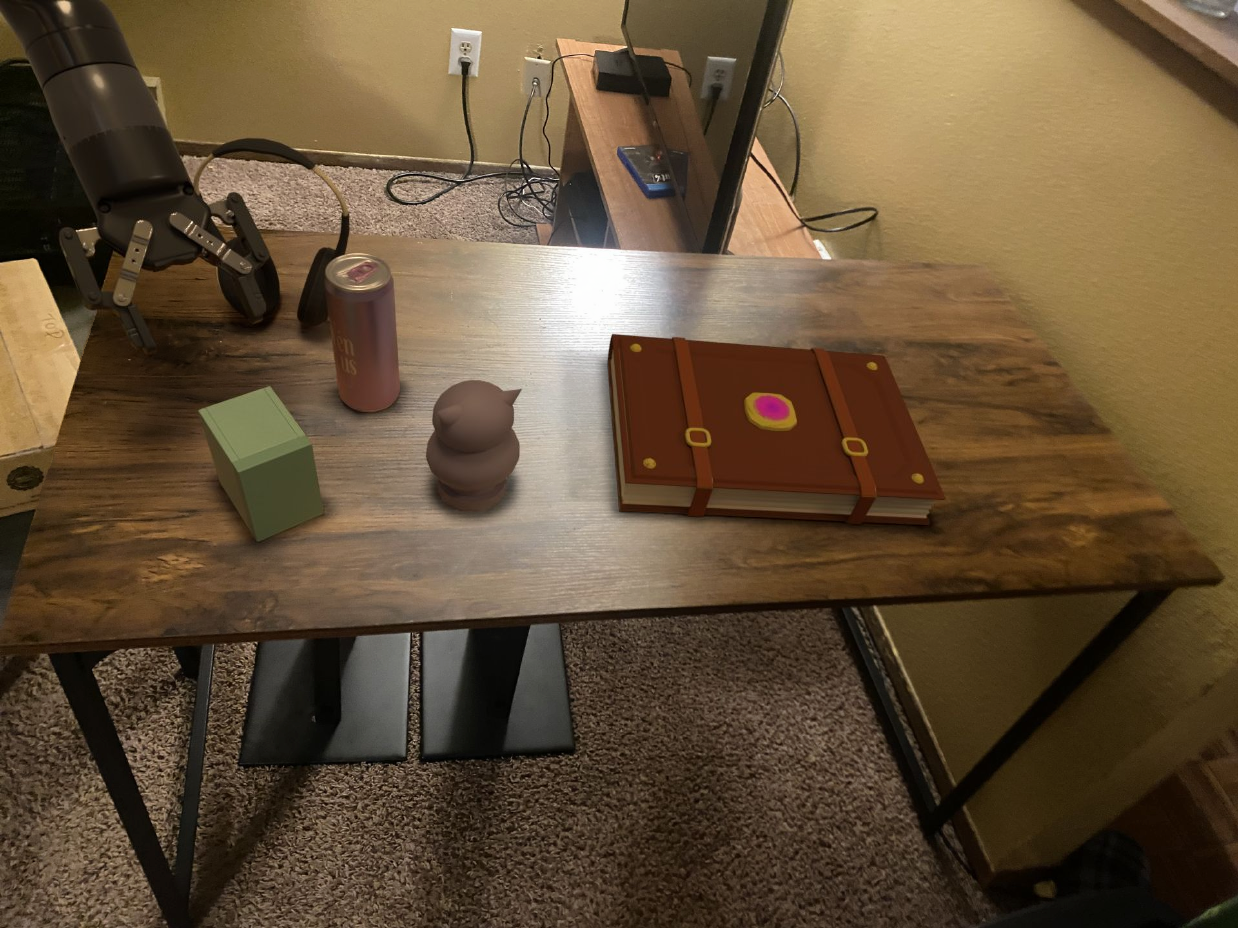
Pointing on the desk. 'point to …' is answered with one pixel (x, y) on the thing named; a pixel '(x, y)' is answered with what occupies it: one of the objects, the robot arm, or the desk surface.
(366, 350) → the beverage can
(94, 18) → the robot arm
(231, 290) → the headphones
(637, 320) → the desk surface
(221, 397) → the desk surface
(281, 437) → the green open-top box
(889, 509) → the book
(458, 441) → the cat figurine
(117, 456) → the desk surface
